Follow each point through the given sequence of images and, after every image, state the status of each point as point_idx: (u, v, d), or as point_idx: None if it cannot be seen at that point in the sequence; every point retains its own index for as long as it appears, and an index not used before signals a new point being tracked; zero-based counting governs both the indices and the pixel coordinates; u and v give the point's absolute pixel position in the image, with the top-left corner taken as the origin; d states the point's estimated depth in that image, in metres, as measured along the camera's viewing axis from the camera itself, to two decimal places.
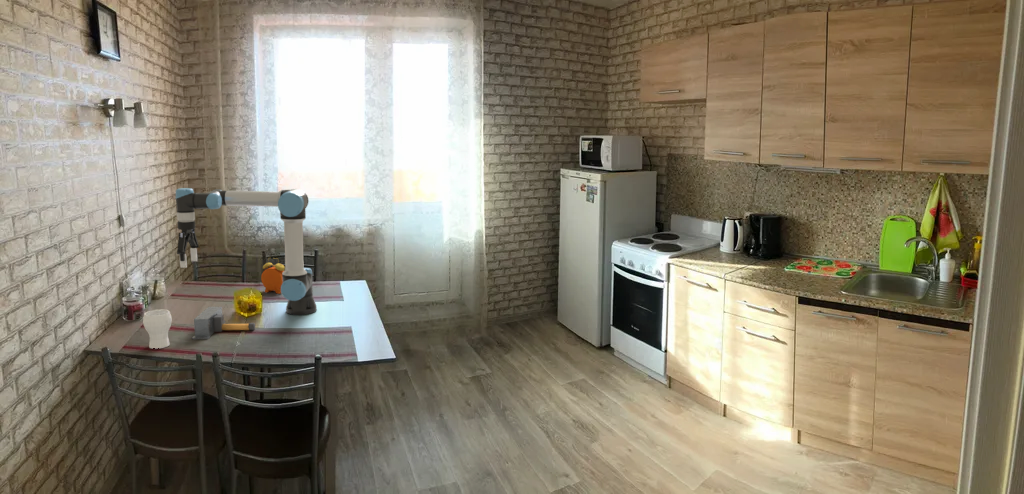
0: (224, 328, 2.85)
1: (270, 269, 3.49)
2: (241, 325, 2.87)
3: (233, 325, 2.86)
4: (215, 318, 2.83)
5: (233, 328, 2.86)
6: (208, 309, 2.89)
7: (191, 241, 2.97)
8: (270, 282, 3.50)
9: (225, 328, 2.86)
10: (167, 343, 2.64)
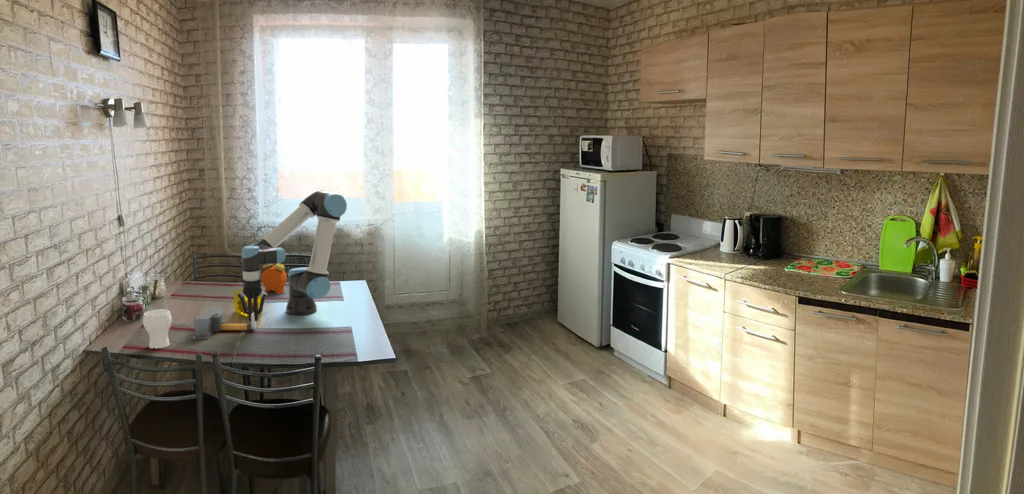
0: (222, 328, 2.85)
1: (270, 269, 3.49)
2: (239, 325, 2.86)
3: (231, 325, 2.86)
4: (213, 318, 2.83)
5: (231, 328, 2.86)
6: (208, 309, 2.89)
7: None
8: (270, 282, 3.50)
9: (223, 328, 2.85)
10: (167, 343, 2.64)
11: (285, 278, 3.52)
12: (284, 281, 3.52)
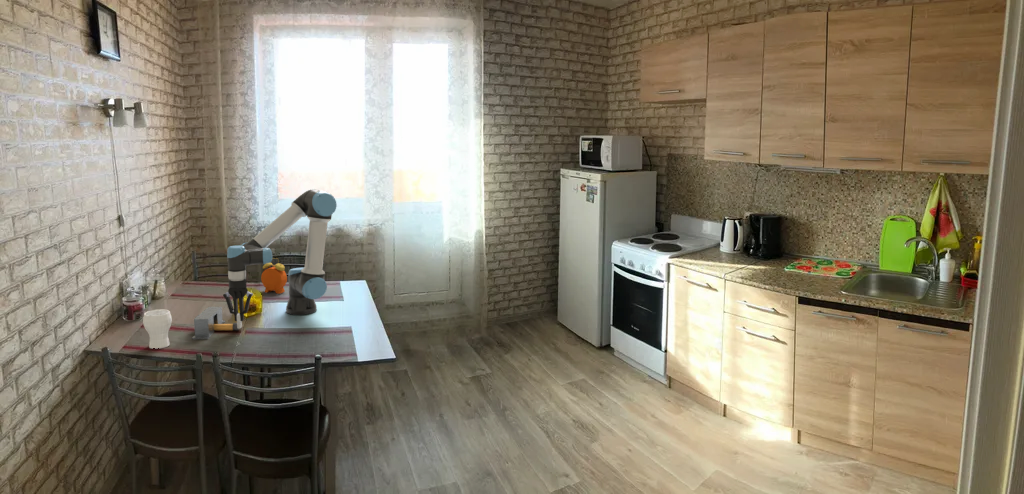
0: None
1: (270, 269, 3.49)
2: (225, 325, 2.86)
3: (216, 325, 2.85)
4: None
5: (217, 328, 2.85)
6: (208, 309, 2.89)
7: None
8: (270, 282, 3.50)
9: None
10: (167, 343, 2.64)
11: (285, 278, 3.52)
12: (284, 281, 3.52)
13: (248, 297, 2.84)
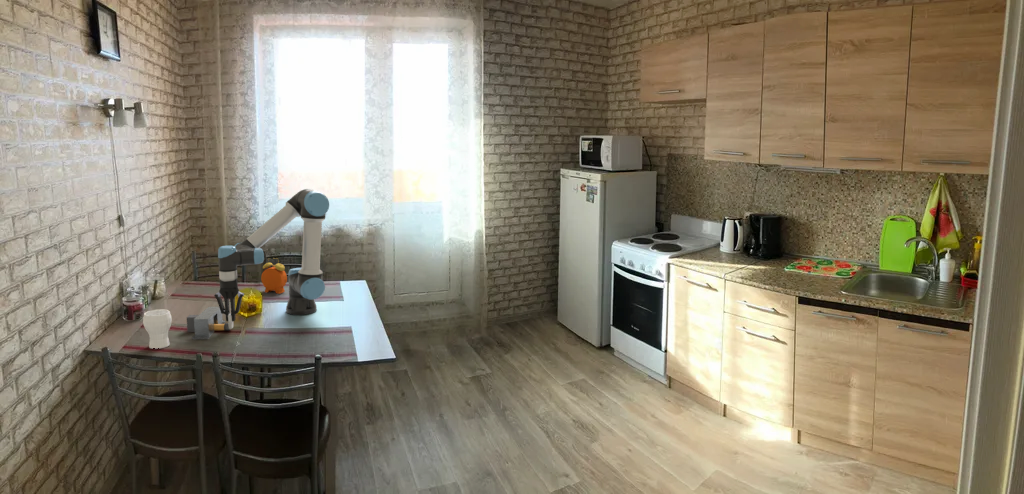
0: None
1: (270, 269, 3.49)
2: (216, 325, 2.85)
3: None
4: (190, 318, 2.82)
5: None
6: (208, 309, 2.89)
7: None
8: (270, 282, 3.50)
9: None
10: (167, 343, 2.64)
11: (285, 278, 3.52)
12: (284, 281, 3.52)
13: (239, 297, 2.84)
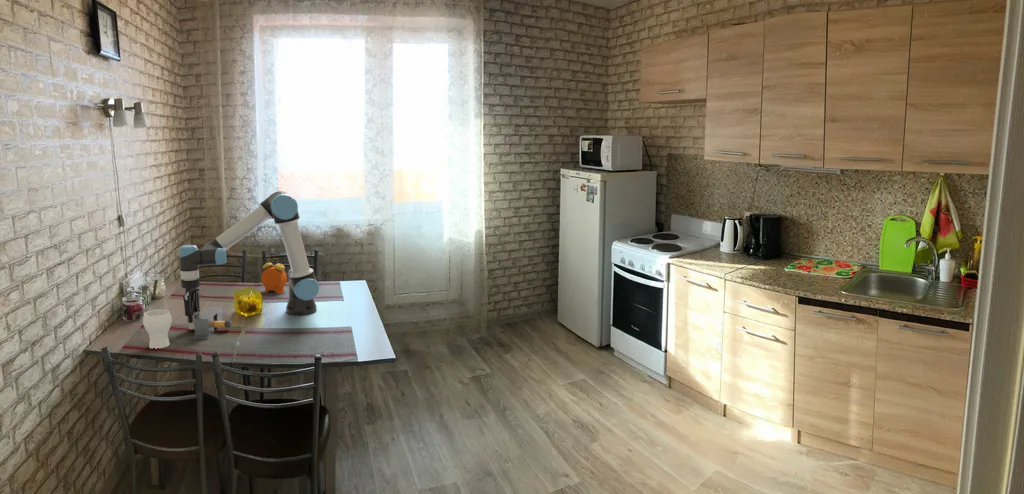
0: None
1: (270, 269, 3.49)
2: (217, 322, 2.85)
3: None
4: None
5: None
6: (208, 309, 2.89)
7: (193, 302, 2.84)
8: (270, 282, 3.50)
9: None
10: (167, 343, 2.64)
11: (285, 278, 3.52)
12: (284, 281, 3.52)
13: (198, 292, 2.87)
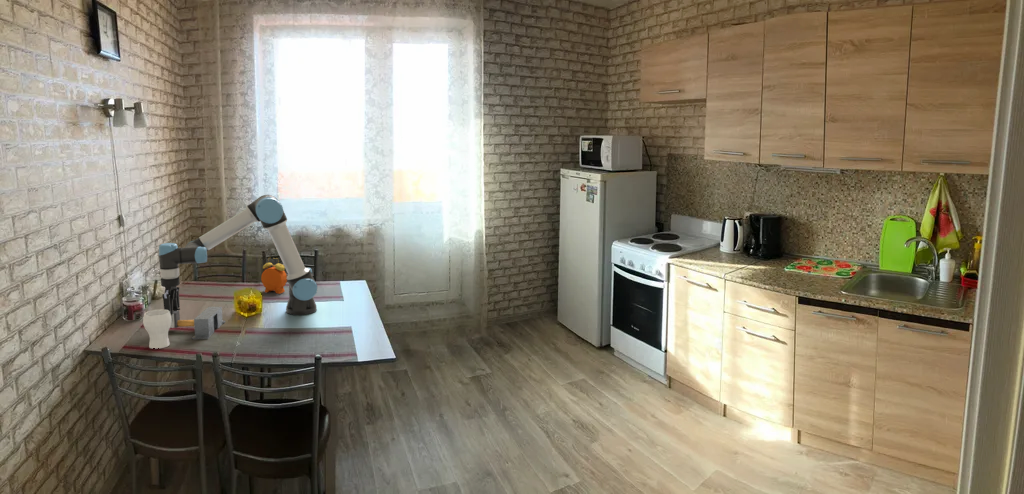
0: (179, 324, 2.82)
1: (270, 269, 3.49)
2: None
3: (188, 321, 2.83)
4: None
5: (189, 324, 2.83)
6: (208, 309, 2.89)
7: (173, 301, 2.83)
8: (270, 282, 3.50)
9: (180, 324, 2.82)
10: (167, 343, 2.64)
11: (285, 278, 3.52)
12: (284, 281, 3.52)
13: (178, 291, 2.86)
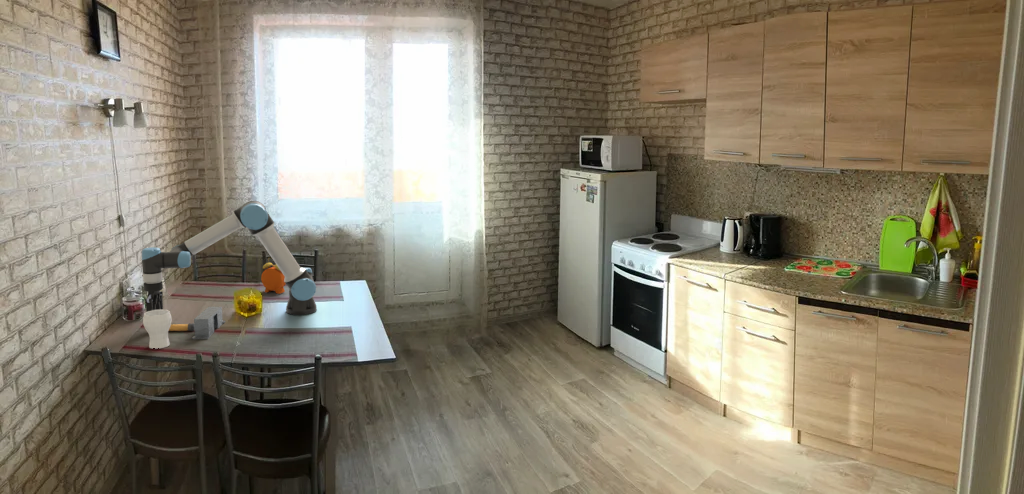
0: None
1: (270, 269, 3.49)
2: (180, 326, 2.83)
3: (171, 326, 2.82)
4: None
5: (172, 329, 2.82)
6: (208, 309, 2.89)
7: (156, 305, 2.82)
8: (270, 282, 3.50)
9: None
10: (167, 343, 2.64)
11: None
12: None
13: (161, 295, 2.85)
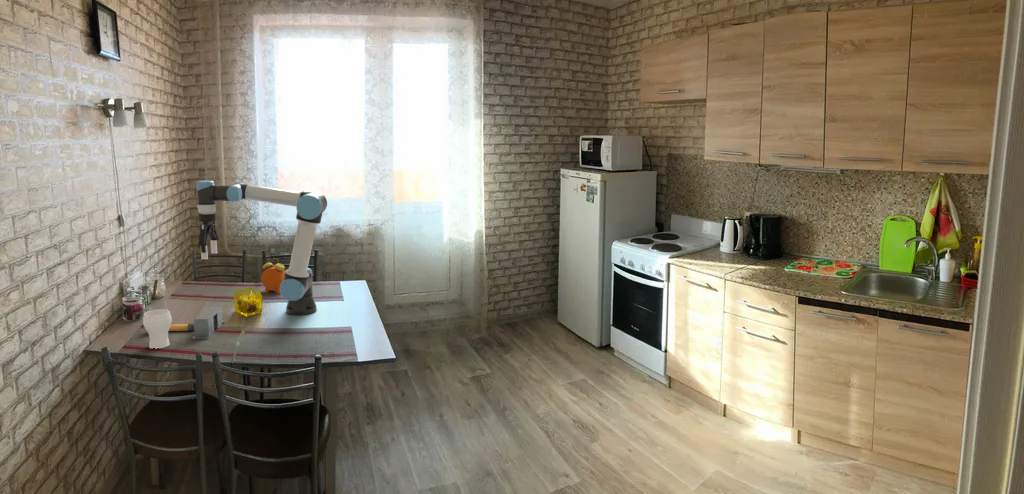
0: None
1: (270, 269, 3.49)
2: (180, 326, 2.83)
3: (171, 326, 2.82)
4: None
5: (172, 329, 2.82)
6: (208, 309, 2.89)
7: (211, 233, 2.99)
8: (270, 282, 3.50)
9: None
10: (167, 343, 2.64)
11: None
12: None
13: (214, 224, 3.00)
